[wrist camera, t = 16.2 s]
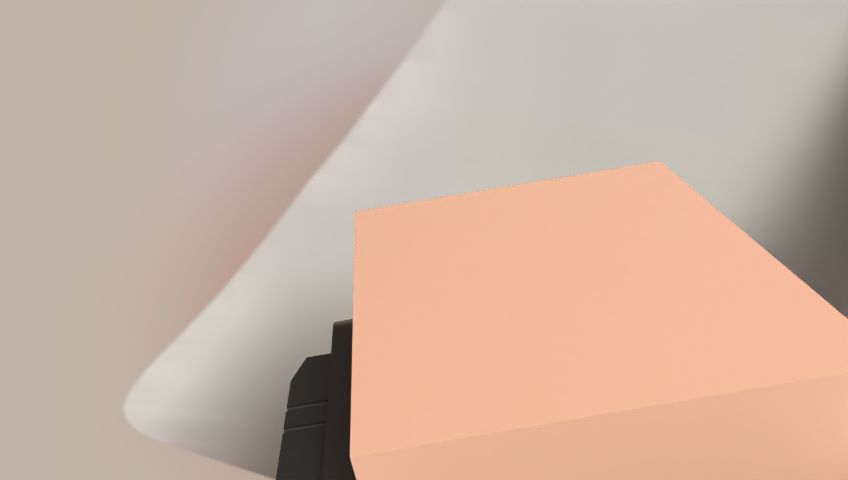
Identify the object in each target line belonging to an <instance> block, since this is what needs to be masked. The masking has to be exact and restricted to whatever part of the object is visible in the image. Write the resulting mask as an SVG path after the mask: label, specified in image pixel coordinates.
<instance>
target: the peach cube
mask: <svg viewBox="0 0 848 480" xmlns="http://www.w3.org/2000/svg"><path fill="white" fill-rule="evenodd" d="M350 459H351V463H352V466H353V470H354V473H355V477H356V480H848V319H847V318H846V317H845V316H844V315H842V314H841V313H840V312H839V311H838V310H836V309H835V308H834V307H833V306H832V305H830V304H829V303H828V302H827V301H826V300H825V299H823V298H822V297H821V296H820V295H819V294H817V293H816V292H815V291H814V290H813V289H811V288H810V287H809V286H808V285H807V284H806V283H804V282H803V281H802V280H801V279H800V278H798V277H797V276H796V275H795V274H794V273H792V272H791V271H790V270H789V269H788V268H787V267H785V266H784V265H783V264H782V263H781V262H779V261H778V260H777V259H776V258H775V257H773V256H772V255H771V254H770V253H769V252H768V251H766V250H765V249H764V248H763V247H762V246H760V245H759V244H758V243H757V242H756V241H754V240H753V239H752V238H751V237H750V236H749V235H747V234H746V233H745V232H744V231H743V230H741V229H740V228H739V227H738V226H737V225H735V224H734V223H733V222H732V221H731V220H730V219H728V218H727V217H726V216H725V215H724V214H722V213H721V212H720V211H719V210H718V209H716V208H715V207H714V206H713V205H712V204H710V203H709V202H708V201H707V200H706V199H705V198H703V197H702V196H701V195H700V194H699V193H697V192H696V191H695V190H694V189H693V188H691V187H690V186H689V185H688V184H687V183H686V182H684V181H683V180H682V179H681V178H680V177H678V176H677V175H676V174H675V173H674V172H672V171H671V170H670V169H669V168H668V167H667V166H665V165H664V164H663V163H662V162H661V161H659V162H653V163H646V164H640V165H634V166H628V167H622V168H616V169H610V170H604V171H598V172H592V173H586V174H580V175H574V176H567V177H561V178H555V179H549V180H543V181H537V182H531V183H525V184H519V185H513V186H507V187H501V188H495V189H489V190H482V191H476V192H470V193H464V194H458V195H452V196H446V197H440V198H434V199H428V200H422V201H416V202H410V203H403V204H397V205H391V206H385V207H379V208H373V209H367V210H361V211H355V247H354V293H353V338H352V383H351V428H350Z"/></svg>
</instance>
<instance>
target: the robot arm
mask: <svg viewBox="0 0 848 480" xmlns="http://www.w3.org/2000/svg"><path fill="white" fill-rule="evenodd" d="M352 338H353V319H350V320H344V321H338V322H334V325H333V336H332V350H331V354H325V355H319V356H313V357H307V358H306V359H305V361H304V362H303V364H302V365H301V367H300V368H299V370H298V371H297V373H296V374H295V376H294V377H293V379H292V380H291V384H290V390H289V397H288V404H287V409H288V412H286V417H285V423H284V434H283V437H282V443H281V450H280V457H279V463H278V470H277V476H276V480H356V477H355V473H354V470H353V466H352V463H351V459H350V428H351V383H352Z"/></svg>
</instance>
